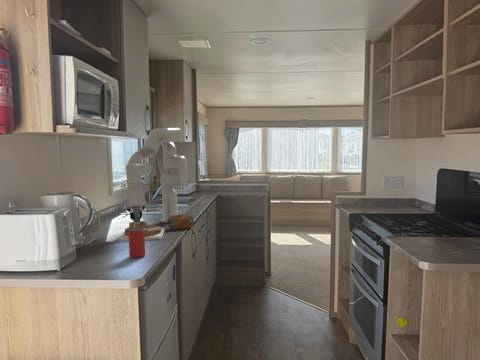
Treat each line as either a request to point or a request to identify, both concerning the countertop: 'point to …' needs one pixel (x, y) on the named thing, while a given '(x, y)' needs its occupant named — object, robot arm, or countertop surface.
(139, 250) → the beer can
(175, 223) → the tin
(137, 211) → the grey rounded cylinder
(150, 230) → the dial
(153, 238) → the dial base
